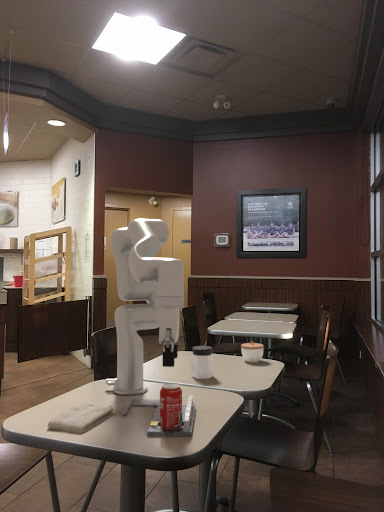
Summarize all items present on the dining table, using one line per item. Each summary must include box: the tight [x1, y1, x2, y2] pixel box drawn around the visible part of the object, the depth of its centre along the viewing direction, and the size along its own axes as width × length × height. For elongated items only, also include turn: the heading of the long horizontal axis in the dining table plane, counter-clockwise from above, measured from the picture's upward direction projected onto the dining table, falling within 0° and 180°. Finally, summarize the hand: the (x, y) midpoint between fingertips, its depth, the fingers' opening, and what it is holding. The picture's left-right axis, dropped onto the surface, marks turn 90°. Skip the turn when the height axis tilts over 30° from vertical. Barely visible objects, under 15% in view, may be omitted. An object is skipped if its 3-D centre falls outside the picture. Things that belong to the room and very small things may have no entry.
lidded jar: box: [240, 341, 265, 364], centre depth 210 cm, size 11×11×9 cm
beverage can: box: [159, 382, 183, 429], centre depth 124 cm, size 6×6×12 cm
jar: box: [191, 345, 214, 380], centre depth 182 cm, size 9×8×12 cm
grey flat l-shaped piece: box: [121, 398, 160, 418], centre depth 141 cm, size 12×16×1 cm
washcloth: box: [47, 403, 114, 434], centre depth 131 cm, size 12×18×3 cm, turn 161°
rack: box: [146, 395, 196, 438], centre depth 130 cm, size 12×23×4 cm, turn 177°
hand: (170, 362), depth 125 cm, fingers open, 9 cm apart
